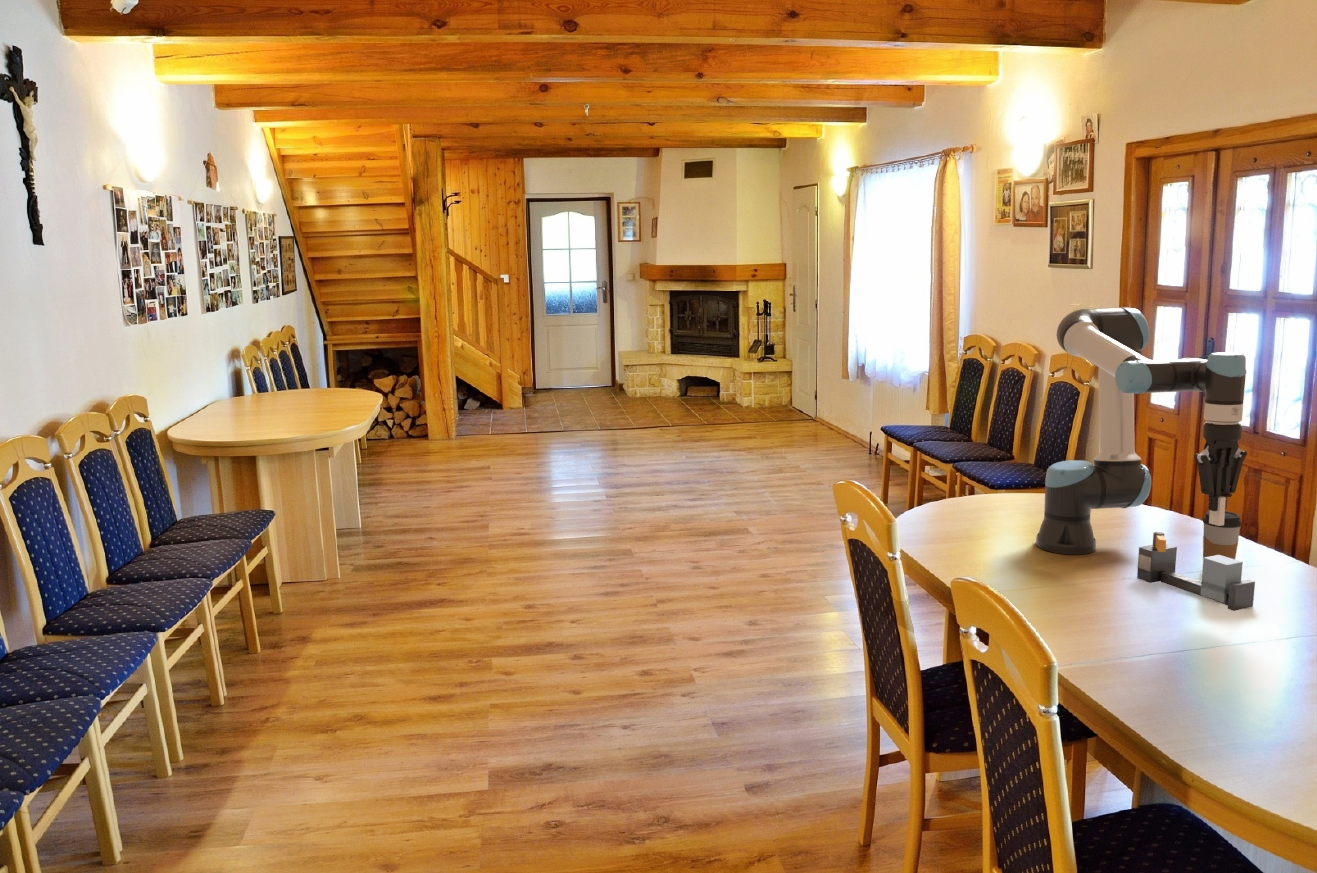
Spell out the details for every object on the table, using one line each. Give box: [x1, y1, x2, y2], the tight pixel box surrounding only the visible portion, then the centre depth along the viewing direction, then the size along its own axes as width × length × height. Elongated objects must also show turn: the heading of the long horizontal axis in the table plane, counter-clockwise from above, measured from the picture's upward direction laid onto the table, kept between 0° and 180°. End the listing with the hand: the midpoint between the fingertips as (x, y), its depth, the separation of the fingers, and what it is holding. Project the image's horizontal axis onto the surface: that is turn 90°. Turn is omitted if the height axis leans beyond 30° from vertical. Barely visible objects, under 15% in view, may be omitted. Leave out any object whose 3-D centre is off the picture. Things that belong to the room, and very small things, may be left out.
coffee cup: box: [1202, 510, 1242, 560], centre depth 244 cm, size 8×8×15 cm
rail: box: [1160, 571, 1229, 606], centre depth 231 cm, size 19×2×2 cm, turn 22°
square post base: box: [1227, 578, 1256, 612], centre depth 221 cm, size 2×6×6 cm, turn 112°
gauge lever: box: [1152, 531, 1167, 552], centre depth 239 cm, size 2×6×3 cm, turn 163°
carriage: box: [1201, 555, 1243, 604], centre depth 225 cm, size 6×5×9 cm
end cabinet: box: [1136, 543, 1178, 584], centre depth 242 cm, size 4×8×8 cm, turn 112°
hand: (1216, 524), depth 224 cm, fingers closed
